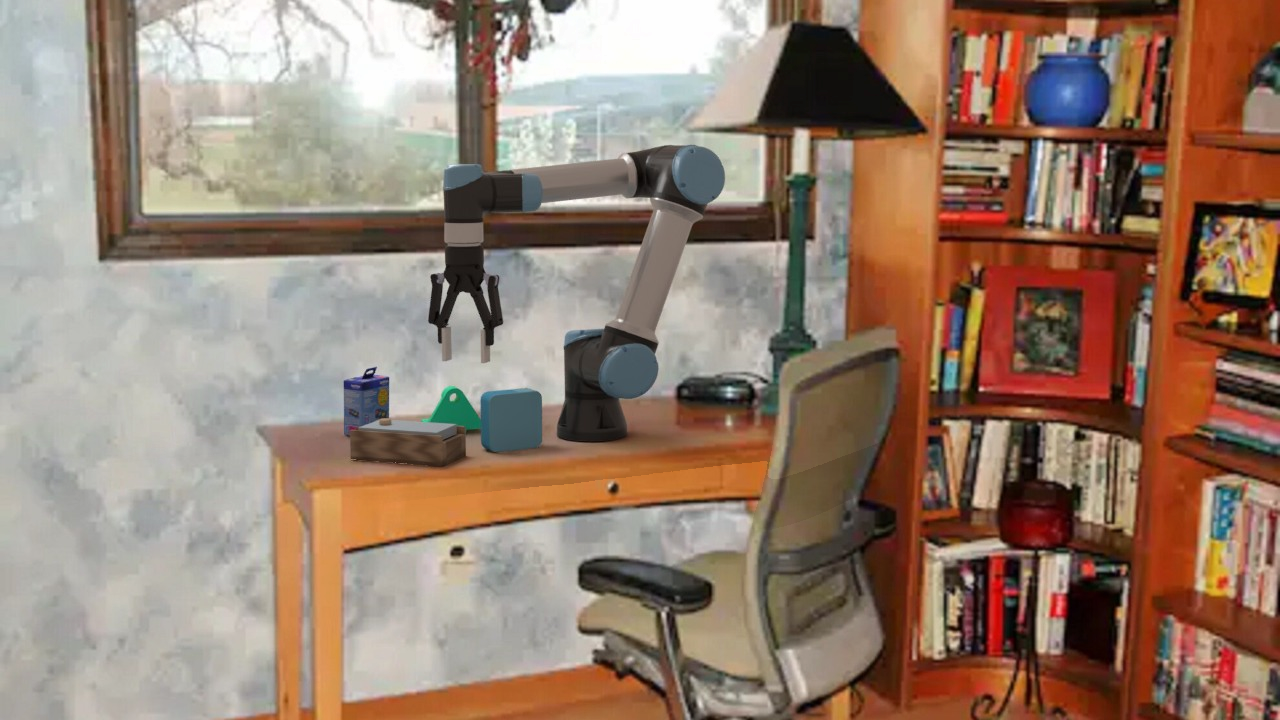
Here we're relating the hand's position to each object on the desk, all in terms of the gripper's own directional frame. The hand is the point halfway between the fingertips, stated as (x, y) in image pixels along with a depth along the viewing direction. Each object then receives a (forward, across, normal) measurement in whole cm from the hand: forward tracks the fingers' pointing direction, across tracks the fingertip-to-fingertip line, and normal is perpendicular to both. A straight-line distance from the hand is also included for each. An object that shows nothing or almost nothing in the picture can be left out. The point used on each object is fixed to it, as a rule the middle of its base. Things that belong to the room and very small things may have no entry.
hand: (466, 361), depth 300 cm
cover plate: (+16, +13, 0) cm, 20 cm away
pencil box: (+20, +13, 0) cm, 24 cm away
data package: (+20, -3, -15) cm, 26 cm away
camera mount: (+21, +17, -28) cm, 38 cm away
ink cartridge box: (+20, +33, -20) cm, 44 cm away
